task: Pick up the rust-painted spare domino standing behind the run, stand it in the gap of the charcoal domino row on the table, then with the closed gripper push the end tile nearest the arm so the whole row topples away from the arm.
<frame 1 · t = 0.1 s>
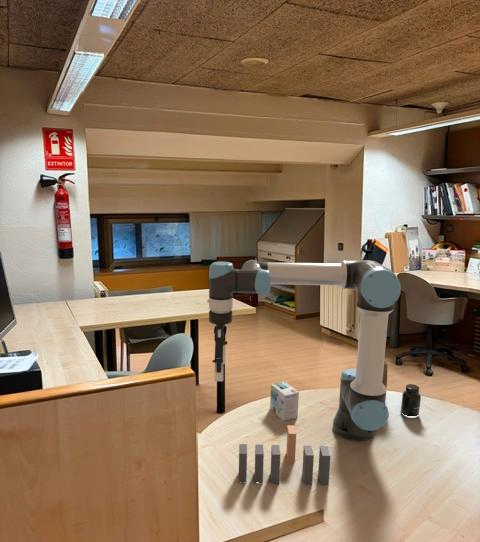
hand: (220, 371, 151), 28 cm above the table, fingers open, 13 cm apart
domino 4: (274, 478, 141), on the table
light bulb box: (283, 413, 180), on the table
domino 6: (242, 477, 141), on the table
domino 5: (258, 478, 141), on the table
supplement bottle: (409, 415, 180), on the table
domino 1: (323, 479, 141), on the table
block: (371, 404, 188), on the table
spare domino: (290, 456, 152), on the table
domino 2: (307, 479, 141), on the table
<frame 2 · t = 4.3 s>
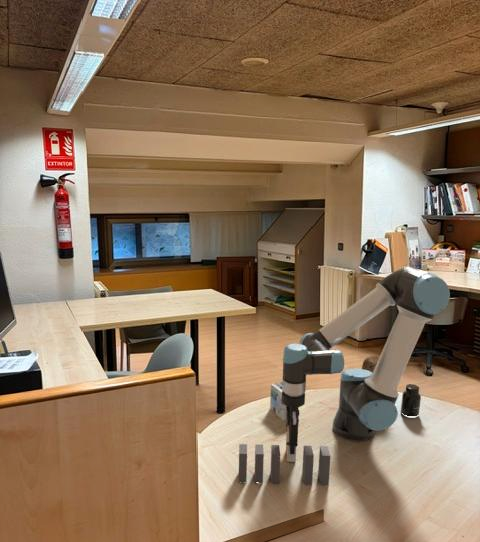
hand: (290, 455, 152), 0 cm above the table, fingers closed on spare domino, 5 cm apart
spare domino: (290, 456, 152), on the table, touching gripper
everything else where it was.
when the fingers open (1 cm above the table, at t = 9.0 s): spare domino stays where it is, on the table.
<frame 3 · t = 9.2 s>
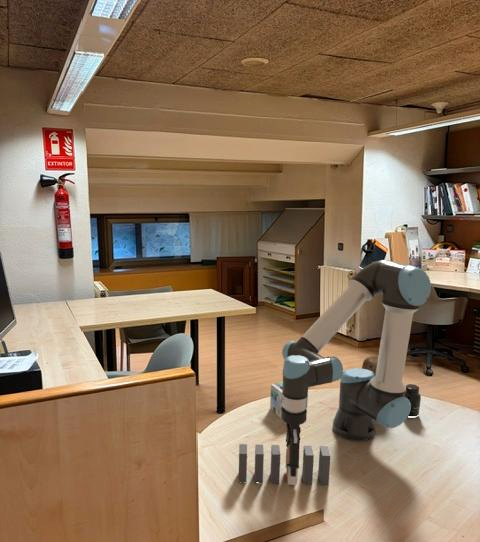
hand: (291, 475, 141), 1 cm above the table, fingers open, 7 cm apart
spare domino: (290, 479, 141), on the table
everything else where it was.
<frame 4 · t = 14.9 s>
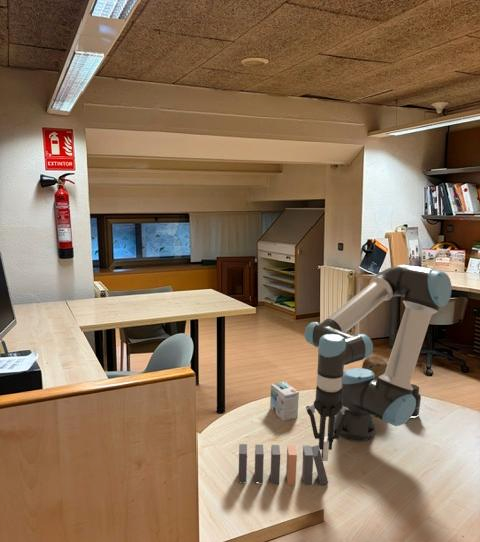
hand: (324, 458, 139), 8 cm above the table, fingers closed
domino 1: (323, 478, 141), on the table, tilted 16°, touching gripper
everything else where it was.
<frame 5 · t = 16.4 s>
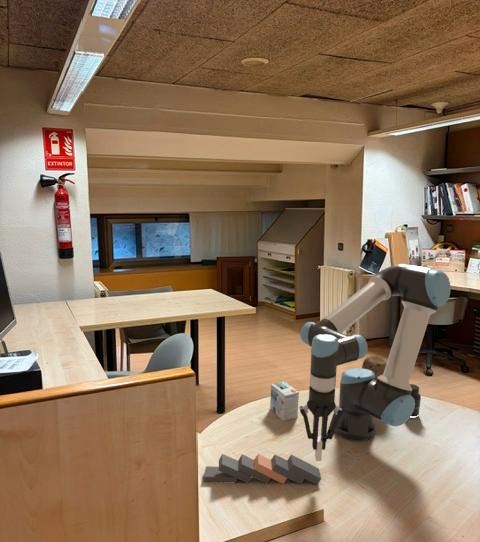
hand: (318, 458, 139), 7 cm above the table, fingers closed
domino 4: (268, 475, 141), point 1 cm above the table, tilted 64°, touching domino 5, spare domino
domino 6: (237, 475, 141), point 1 cm above the table, tilted 90°, touching domino 5
domino 5: (249, 474, 140), point 1 cm above the table, tilted 64°, touching domino 4, domino 6
domino 1: (317, 476, 141), point 1 cm above the table, tilted 62°, touching domino 2
spare domino: (284, 475, 140), point 1 cm above the table, tilted 62°, touching domino 2, domino 4
domino 2: (301, 476, 141), point 1 cm above the table, tilted 62°, touching domino 1, spare domino
everything else where it was.
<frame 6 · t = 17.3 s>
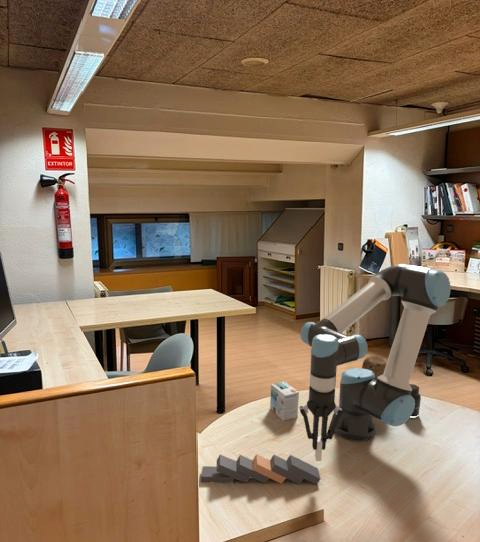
hand: (318, 458, 139), 7 cm above the table, fingers closed
domino 6: (234, 475, 141), point 1 cm above the table, tilted 90°
domino 5: (247, 474, 140), point 1 cm above the table, tilted 65°, touching domino 4
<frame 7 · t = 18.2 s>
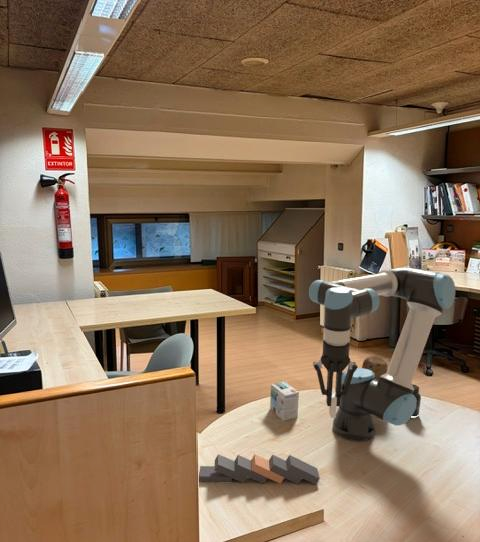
hand: (332, 415, 137), 22 cm above the table, fingers closed
domino 4: (265, 475, 141), point 1 cm above the table, tilted 65°, touching spare domino
domino 5: (245, 474, 141), point 1 cm above the table, tilted 64°
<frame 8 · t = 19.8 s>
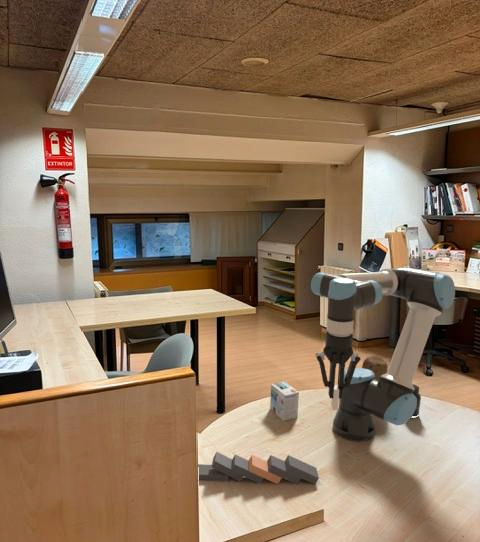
hand: (334, 407, 136), 24 cm above the table, fingers closed
domino 6: (228, 473, 141), point 1 cm above the table, tilted 90°, touching domino 5
domino 5: (242, 473, 141), point 1 cm above the table, tilted 64°, touching domino 6
spare domino: (278, 475, 140), point 1 cm above the table, tilted 63°, touching domino 2, domino 4
at the end: domino 6 tilted 90°; spare domino tilted 63°; spare domino inside the target area (1.7 cm from its centre), point 1.1 cm above the table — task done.
